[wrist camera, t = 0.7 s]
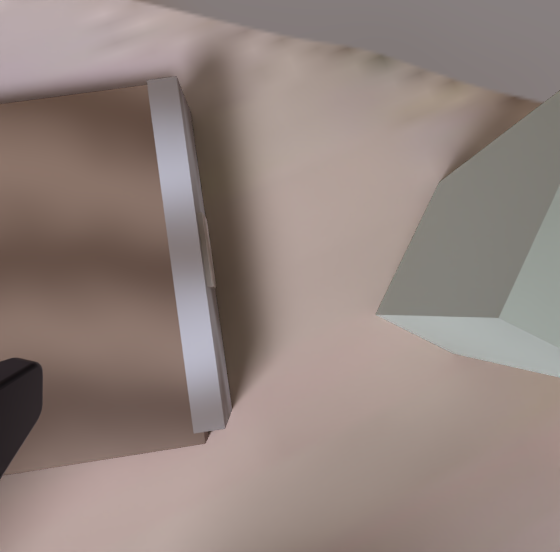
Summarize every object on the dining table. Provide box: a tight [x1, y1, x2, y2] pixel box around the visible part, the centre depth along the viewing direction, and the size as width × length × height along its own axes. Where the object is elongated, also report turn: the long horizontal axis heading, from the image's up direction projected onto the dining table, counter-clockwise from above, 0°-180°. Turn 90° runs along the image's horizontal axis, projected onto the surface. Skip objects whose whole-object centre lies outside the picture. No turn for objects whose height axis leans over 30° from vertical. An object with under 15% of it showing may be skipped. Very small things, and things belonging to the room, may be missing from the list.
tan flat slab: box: [0, 76, 232, 475], centre depth 20 cm, size 16×11×4 cm
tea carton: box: [376, 90, 560, 378], centre depth 17 cm, size 7×4×12 cm, turn 154°
